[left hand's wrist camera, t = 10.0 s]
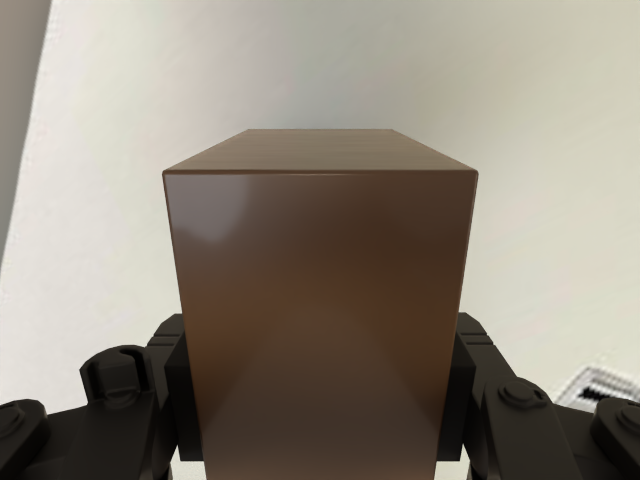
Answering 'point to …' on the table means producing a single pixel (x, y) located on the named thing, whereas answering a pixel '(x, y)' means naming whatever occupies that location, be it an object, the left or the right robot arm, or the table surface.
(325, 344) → the beam
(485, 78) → the table surface
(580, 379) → the table surface
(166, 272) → the table surface
